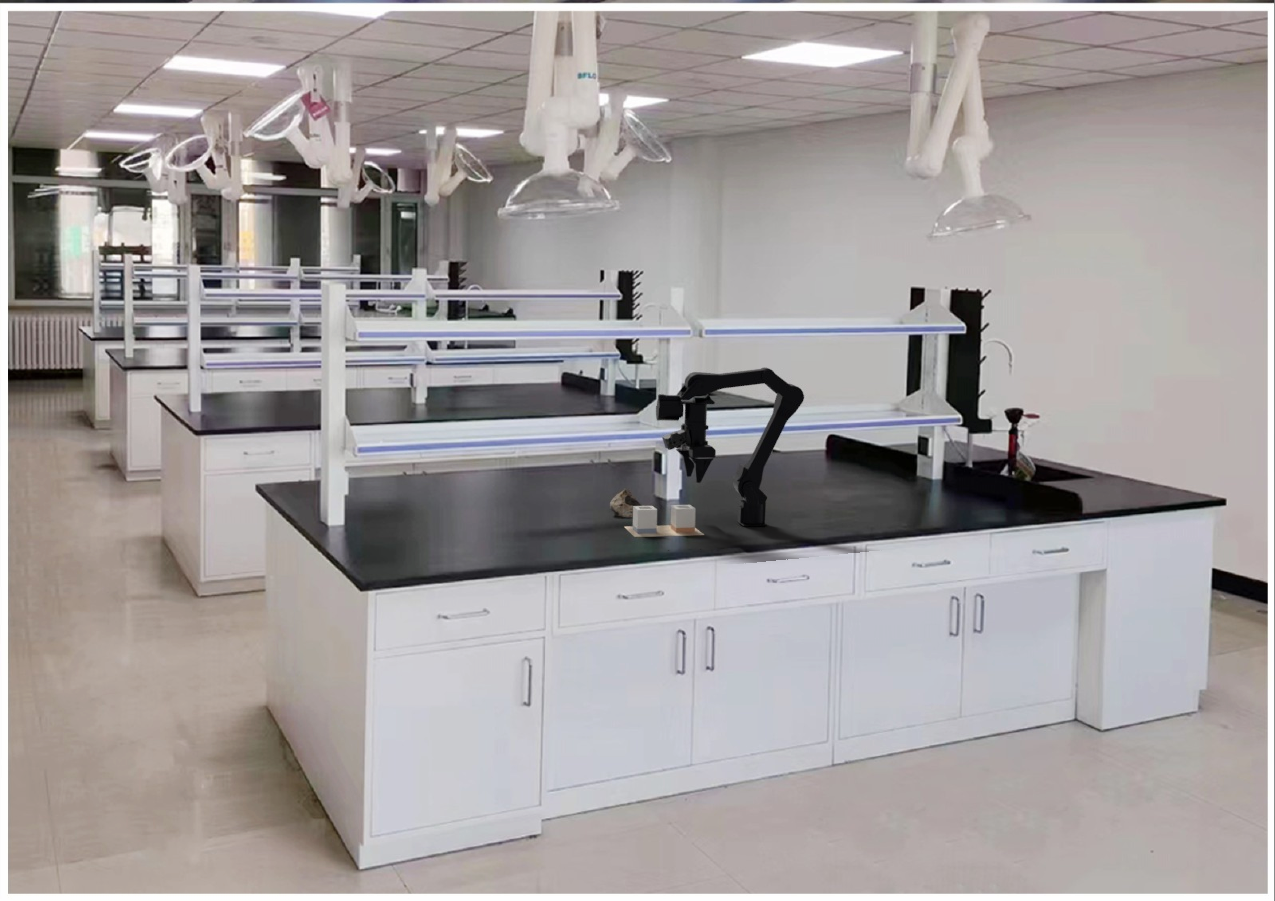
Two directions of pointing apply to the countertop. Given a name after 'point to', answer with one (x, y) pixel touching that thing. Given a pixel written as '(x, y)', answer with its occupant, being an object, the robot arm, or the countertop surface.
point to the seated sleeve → (644, 519)
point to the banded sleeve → (683, 518)
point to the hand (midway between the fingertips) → (693, 479)
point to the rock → (624, 504)
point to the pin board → (663, 532)
